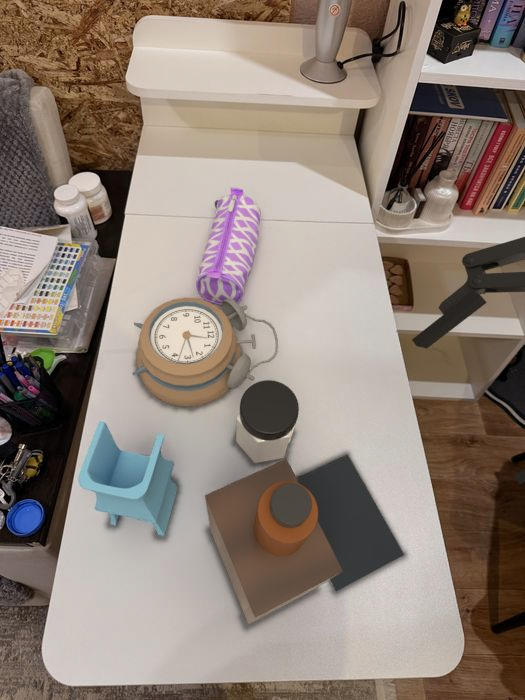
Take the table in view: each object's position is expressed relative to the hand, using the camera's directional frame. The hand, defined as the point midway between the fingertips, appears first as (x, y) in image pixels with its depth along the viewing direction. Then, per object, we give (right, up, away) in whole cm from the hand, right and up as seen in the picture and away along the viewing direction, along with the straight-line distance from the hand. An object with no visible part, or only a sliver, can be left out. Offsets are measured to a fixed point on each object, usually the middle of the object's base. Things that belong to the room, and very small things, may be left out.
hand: (466, 407), depth 43 cm
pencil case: (-23, +21, +54) cm, 62 cm away
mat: (-6, -20, +31) cm, 37 cm away
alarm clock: (-27, +3, +43) cm, 51 cm away
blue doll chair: (-34, -17, +31) cm, 49 cm away
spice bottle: (-15, -14, +11) cm, 23 cm away
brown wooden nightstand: (-17, -24, +28) cm, 41 cm away
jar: (-17, -9, +37) cm, 42 cm away
